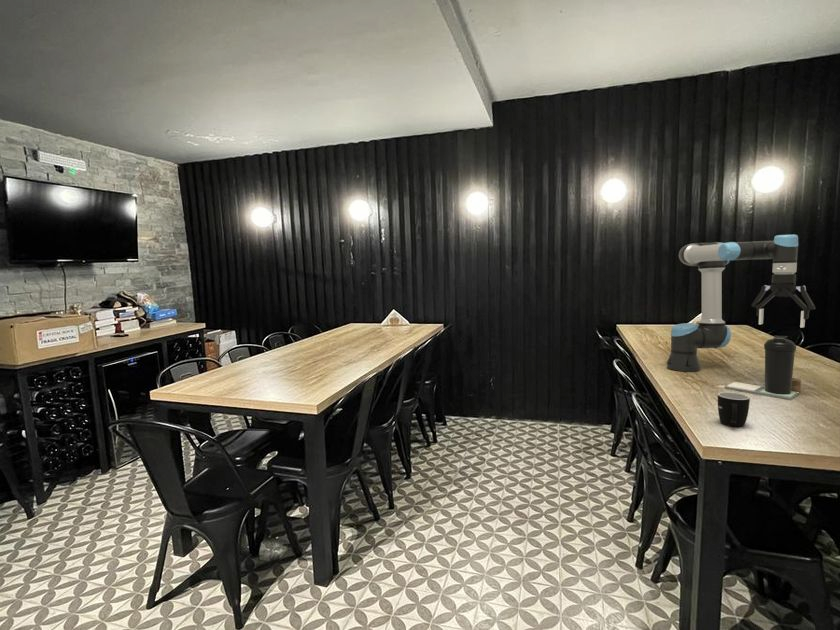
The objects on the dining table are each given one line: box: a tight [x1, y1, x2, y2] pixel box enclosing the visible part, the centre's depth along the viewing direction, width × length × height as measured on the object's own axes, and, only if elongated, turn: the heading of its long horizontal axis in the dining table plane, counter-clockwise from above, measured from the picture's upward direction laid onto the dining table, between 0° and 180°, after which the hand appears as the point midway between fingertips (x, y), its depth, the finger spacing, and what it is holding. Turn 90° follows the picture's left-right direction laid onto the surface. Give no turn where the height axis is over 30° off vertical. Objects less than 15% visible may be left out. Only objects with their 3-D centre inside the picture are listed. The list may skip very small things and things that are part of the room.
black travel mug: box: [763, 335, 797, 395], centre depth 182 cm, size 10×10×23 cm
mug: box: [717, 391, 751, 428], centre depth 151 cm, size 12×9×10 cm
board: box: [724, 381, 800, 401], centre depth 187 cm, size 23×11×1 cm, turn 36°
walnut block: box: [791, 377, 802, 394], centre depth 187 cm, size 5×5×5 cm
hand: (780, 325), depth 180 cm, fingers open, 13 cm apart
